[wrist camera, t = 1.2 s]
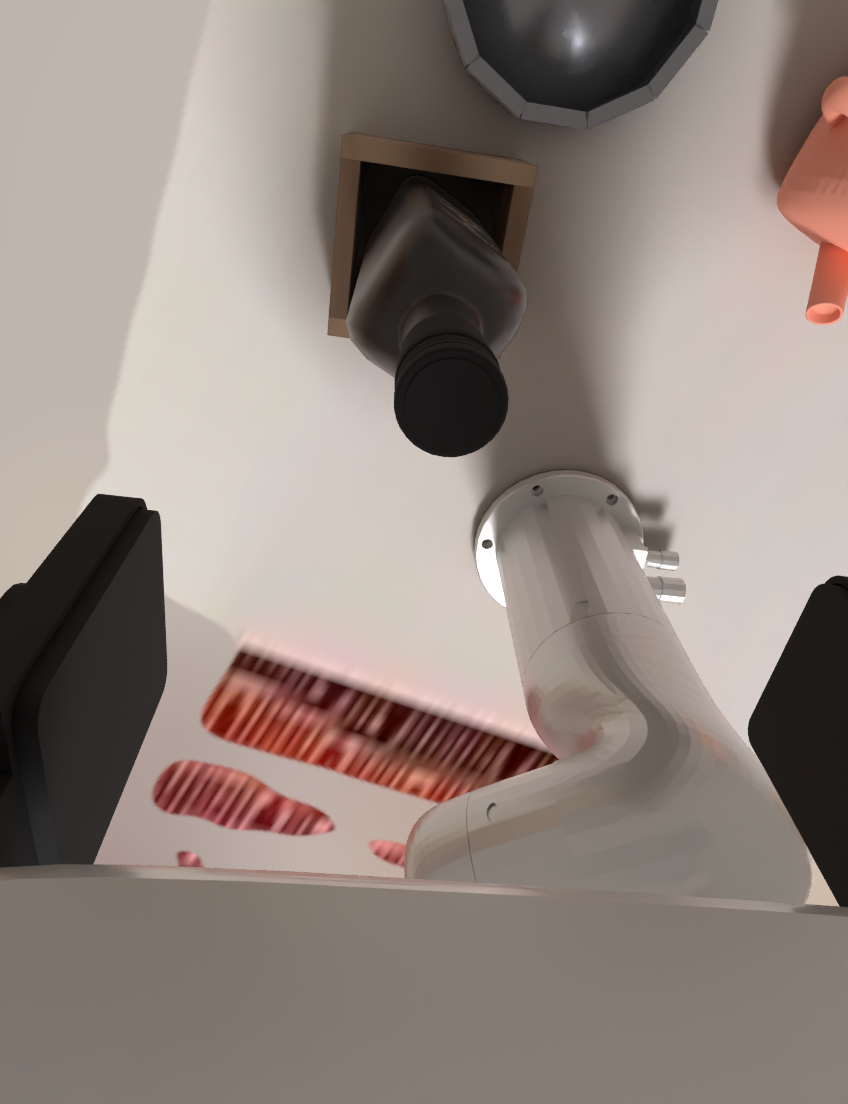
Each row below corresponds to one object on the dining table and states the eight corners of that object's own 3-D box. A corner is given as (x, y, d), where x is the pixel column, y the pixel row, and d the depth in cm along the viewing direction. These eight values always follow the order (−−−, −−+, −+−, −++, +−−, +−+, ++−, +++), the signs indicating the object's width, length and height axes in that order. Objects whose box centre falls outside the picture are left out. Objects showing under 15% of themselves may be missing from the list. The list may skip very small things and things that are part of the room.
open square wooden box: (521, 160, 43) (537, 166, 38) (489, 332, 48) (500, 358, 43) (349, 132, 42) (342, 135, 37) (335, 311, 47) (327, 335, 42)
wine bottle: (411, 165, 43) (424, 244, 17) (489, 225, 45) (605, 377, 19) (359, 251, 46) (302, 433, 20) (435, 305, 47) (474, 537, 21)
